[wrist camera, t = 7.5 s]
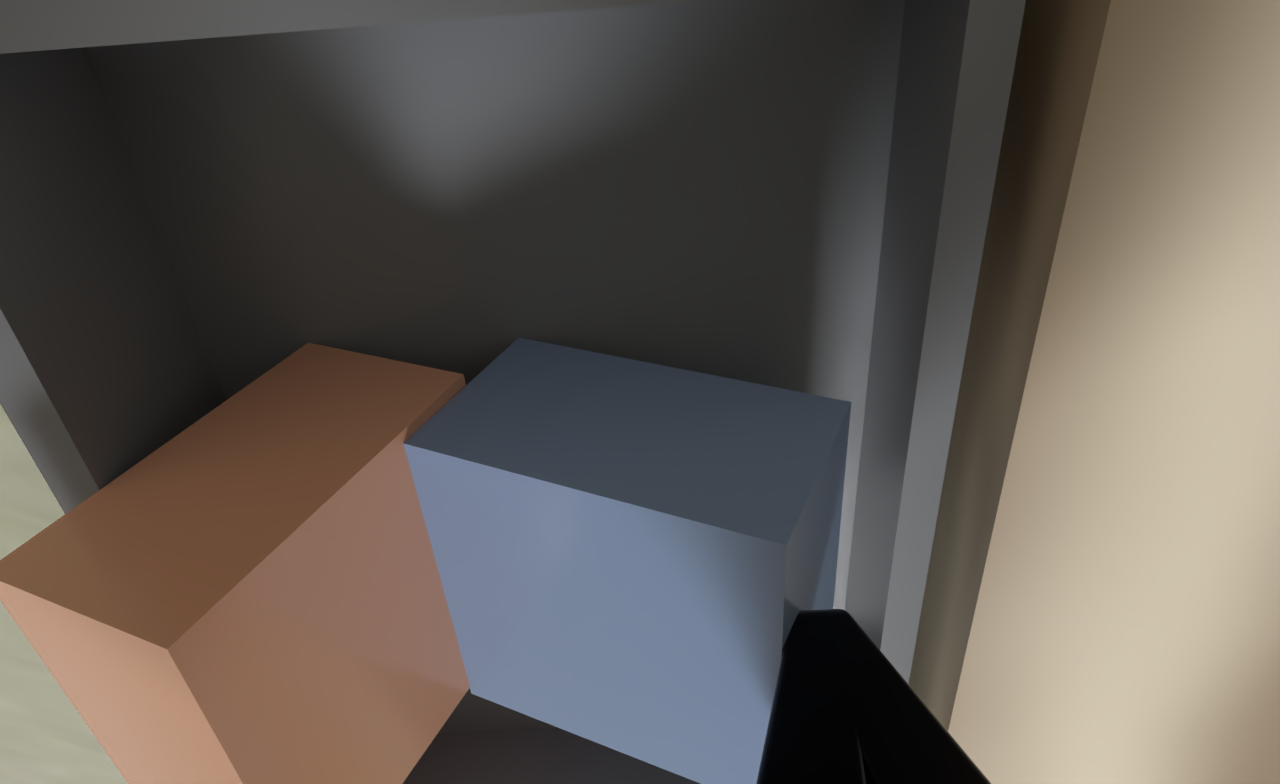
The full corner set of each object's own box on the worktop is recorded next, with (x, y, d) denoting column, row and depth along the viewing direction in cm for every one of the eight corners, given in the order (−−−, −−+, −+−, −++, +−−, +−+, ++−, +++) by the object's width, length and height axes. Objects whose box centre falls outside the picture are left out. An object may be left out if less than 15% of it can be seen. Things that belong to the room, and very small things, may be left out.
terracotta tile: (166, 649, 7) (-19, 574, 8) (314, 908, 10) (159, 828, 11) (463, 374, 11) (308, 342, 12) (516, 620, 13) (385, 578, 14)
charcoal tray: (946, -120, 9) (1099, -91, 6) (852, 697, 17) (901, 877, 14) (31, -49, 9) (-229, 11, 6) (352, 729, 17) (300, 914, 14)
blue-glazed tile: (851, 401, 10) (786, 545, 8) (828, 658, 12) (774, 812, 11) (519, 337, 12) (403, 443, 10) (557, 573, 14) (471, 693, 12)
